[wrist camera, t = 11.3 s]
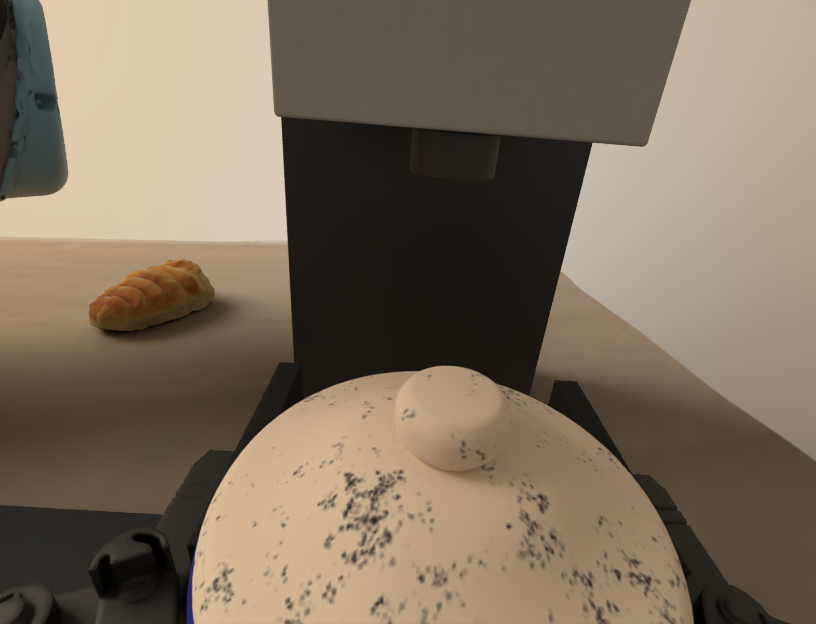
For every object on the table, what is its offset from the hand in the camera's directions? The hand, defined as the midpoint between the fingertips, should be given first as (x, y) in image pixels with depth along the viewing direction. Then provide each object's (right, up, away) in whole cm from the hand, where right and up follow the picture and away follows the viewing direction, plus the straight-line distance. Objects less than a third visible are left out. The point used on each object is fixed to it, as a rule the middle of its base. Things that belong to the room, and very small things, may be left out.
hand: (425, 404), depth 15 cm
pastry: (-23, +3, +23) cm, 32 cm away
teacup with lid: (-1, -8, -1) cm, 8 cm away
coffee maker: (-1, -4, +11) cm, 12 cm away
